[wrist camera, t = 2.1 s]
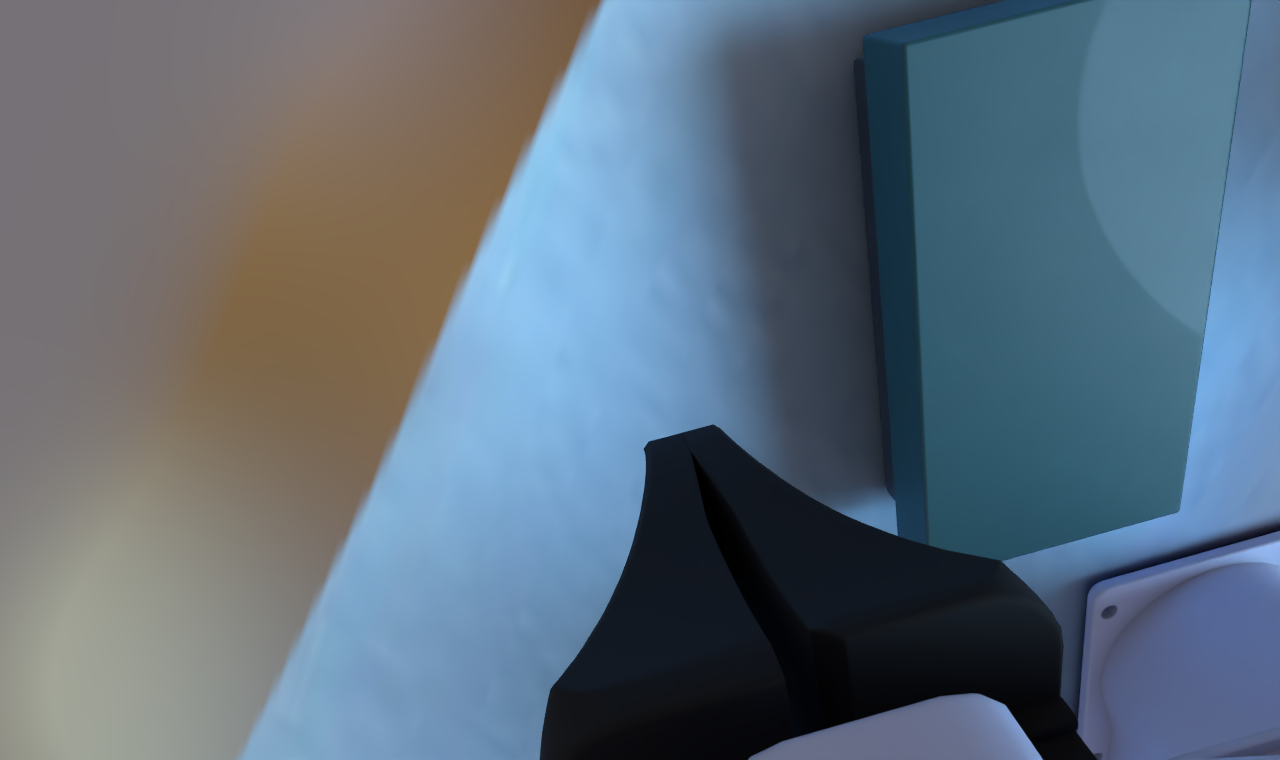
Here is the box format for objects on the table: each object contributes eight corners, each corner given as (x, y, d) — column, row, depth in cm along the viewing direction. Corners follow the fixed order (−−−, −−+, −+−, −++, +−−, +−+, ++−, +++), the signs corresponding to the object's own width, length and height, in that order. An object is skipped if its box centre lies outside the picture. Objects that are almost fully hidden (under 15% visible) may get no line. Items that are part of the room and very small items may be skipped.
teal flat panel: (1100, 448, 23) (1181, 513, 20) (877, 509, 22) (928, 582, 20) (1139, -44, 17) (1260, -46, 14) (836, 30, 16) (902, 43, 14)
